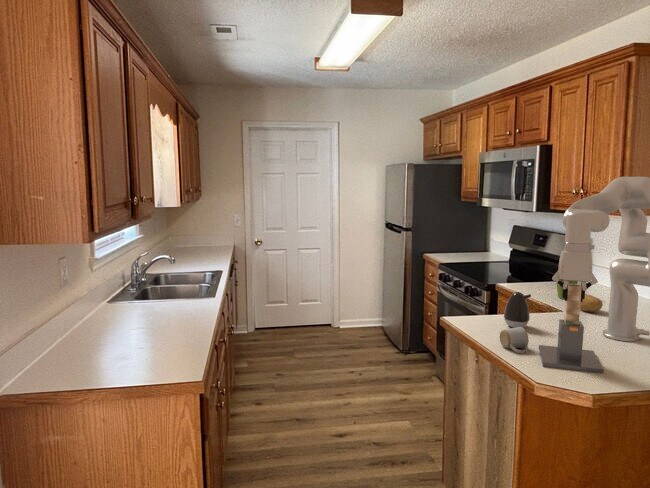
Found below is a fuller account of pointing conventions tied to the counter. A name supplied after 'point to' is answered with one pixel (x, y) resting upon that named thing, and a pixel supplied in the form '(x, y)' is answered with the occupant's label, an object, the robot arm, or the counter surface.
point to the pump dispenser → (517, 310)
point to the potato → (591, 304)
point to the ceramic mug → (515, 339)
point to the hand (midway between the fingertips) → (573, 299)
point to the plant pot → (560, 289)
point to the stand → (570, 351)
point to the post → (573, 304)
